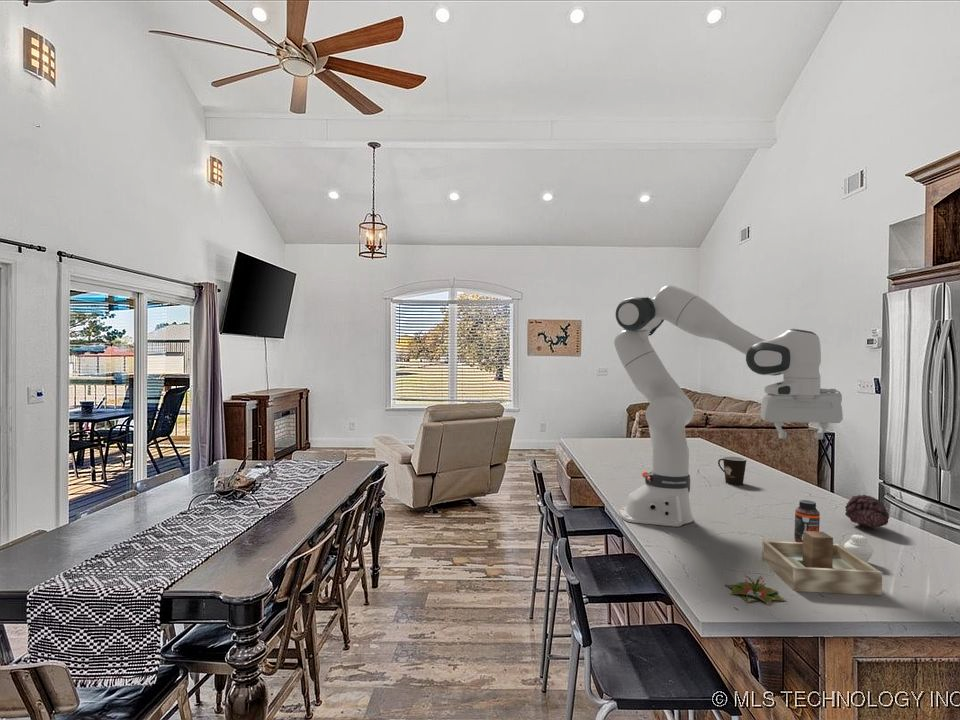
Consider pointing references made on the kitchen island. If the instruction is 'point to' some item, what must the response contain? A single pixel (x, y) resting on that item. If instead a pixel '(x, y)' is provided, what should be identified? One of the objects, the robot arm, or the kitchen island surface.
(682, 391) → the robot arm
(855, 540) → the white ribbed rounded lump
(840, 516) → the kitchen island surface
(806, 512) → the supplement bottle
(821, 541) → the peg
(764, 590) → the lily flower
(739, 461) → the coffee mug
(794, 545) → the peg box
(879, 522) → the pine cone
